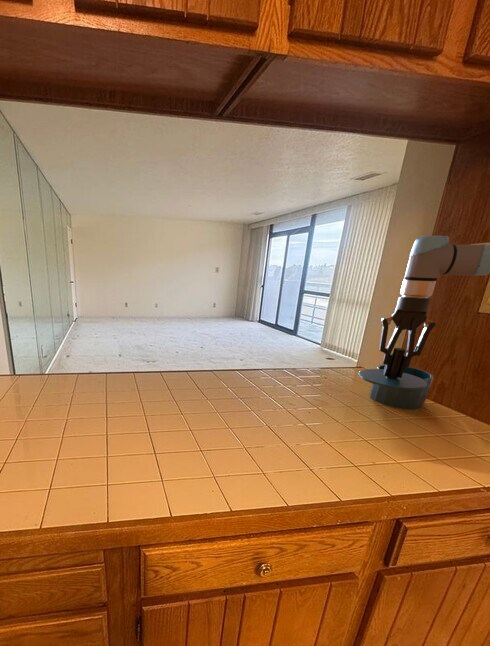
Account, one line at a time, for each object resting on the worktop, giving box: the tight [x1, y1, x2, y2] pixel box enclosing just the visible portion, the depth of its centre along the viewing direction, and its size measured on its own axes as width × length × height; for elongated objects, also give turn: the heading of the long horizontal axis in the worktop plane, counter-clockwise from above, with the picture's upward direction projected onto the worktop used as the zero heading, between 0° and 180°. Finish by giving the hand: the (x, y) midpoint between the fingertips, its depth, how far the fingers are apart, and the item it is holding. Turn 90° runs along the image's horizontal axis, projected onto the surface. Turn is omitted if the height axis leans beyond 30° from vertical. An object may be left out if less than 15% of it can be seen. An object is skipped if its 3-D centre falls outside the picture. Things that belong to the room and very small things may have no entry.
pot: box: [369, 364, 435, 410], centre depth 126 cm, size 17×22×12 cm
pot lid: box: [358, 347, 427, 390], centre depth 105 cm, size 18×18×10 cm
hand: (392, 375), depth 106 cm, fingers closed on pot lid, 3 cm apart
